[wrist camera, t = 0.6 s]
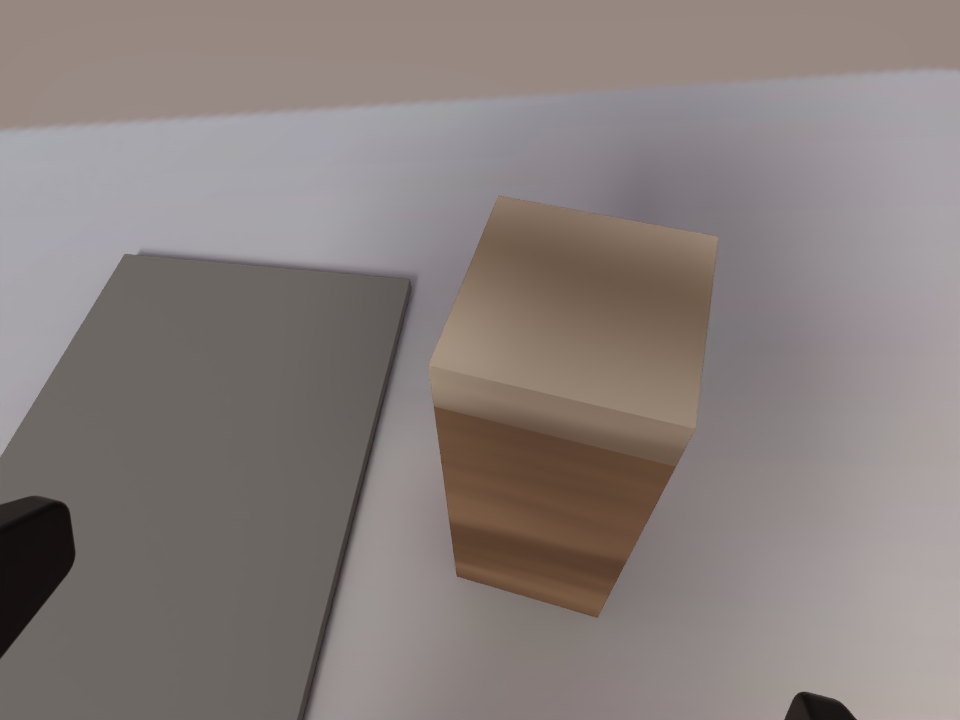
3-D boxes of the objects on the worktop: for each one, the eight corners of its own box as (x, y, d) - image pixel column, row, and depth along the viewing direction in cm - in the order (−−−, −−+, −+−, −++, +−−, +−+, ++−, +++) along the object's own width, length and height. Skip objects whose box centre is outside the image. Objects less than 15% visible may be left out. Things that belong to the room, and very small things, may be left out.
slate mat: (238, 972, 17) (230, 976, 17) (-242, 884, 18) (-262, 886, 18) (411, 287, 31) (409, 279, 30) (130, 262, 32) (124, 254, 32)
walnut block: (597, 617, 22) (695, 428, 12) (456, 575, 23) (428, 365, 12) (621, 485, 25) (718, 236, 14) (494, 453, 26) (498, 195, 15)
